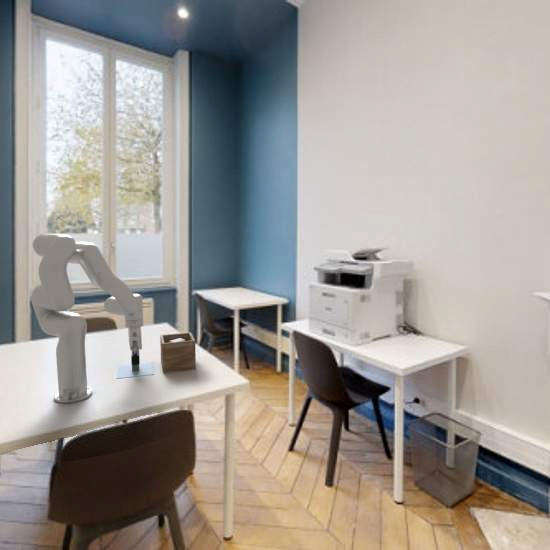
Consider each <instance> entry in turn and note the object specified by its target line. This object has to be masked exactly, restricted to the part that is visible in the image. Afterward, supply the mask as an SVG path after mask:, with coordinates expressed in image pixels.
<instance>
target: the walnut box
mask: <svg viewBox="0 0 550 550" xmlns="http://www.w3.org/2000/svg"><path fill="white" fill-rule="evenodd" d="M159 337H160V338H159V341H160V364H161V369H162V374H166V373H173V372H175V373H177V372H183V371H191V370H192V371H193V370H197V368H196V366H197V365H196V364H197V363H196V357H197V356H196V339H195V338H194V335H193V333H192V332H181V333H170V334H160V335H159ZM178 338H181V339H185V341H180V342H169V341H171V340H175V339H178Z"/></svg>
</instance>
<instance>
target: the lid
mask: <svg viewBox="0 0 550 550" xmlns="http://www.w3.org/2000/svg"><path fill="white" fill-rule="evenodd" d="M116 372H117V373H116V380H117V379H118V380H119V379H125V378H127V379H129V378H135V377H145V376H146V377H147V376H154V375H155V368H154V361H153V362H143V363H140V364H138V365H132V364H126V365H125V364H124V365H118V366H117V371H116Z"/></svg>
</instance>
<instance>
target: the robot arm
mask: <svg viewBox="0 0 550 550" xmlns="http://www.w3.org/2000/svg"><path fill="white" fill-rule="evenodd" d="M32 249H33V251H34V252H35V253H36V254H37V255H38V256H40V257H42V259H41V260H40V263H39V264H38V265H39V266H38V276H39V280H40V283H39V284H38V285H37V286H35V287H34V289H32V292H31V296H30V300H31V305H32V307H33V311H34V314H35V316H36V319H37V321H38V325H39V327H40V328H41V330H42V332H44V333H45V334H47V335H49V336H52V337H53V336H54V337H57V338H58V341H57V345H56V350H55V355H56V356H55V357H56V371H57V386H58V387H57V388H58V391H57V392H56V393H55V394H54V396H53V399H54V401H55V402H57V403H61V404H69V403H70V404H71V403H76V402H80V401H83V400H86V399H87V398H89V397H90V396H92V394H93V389H92V388H91V387H90V386H88V377H87V376H88V375H87V357H86V356H87V355H86V335H87V329H88V324H87V320H86V318H85V317H84V316H82V315H81V314H79V313H77V312H72V311H69V310H71V309H72V308H73V307H74V306H75V301H76V299H75V295H74V292H73V288H72V285H71V282H70V279H69V275H68V270H67V269H68V264H76V265H77V264H79V265H80V267H81V269H83V272H84V273H85V275H86V276H87V278H88V279H89V281H90V283H91V284H92V285H93V286H94V287H96V288H97V289H100V290H101V291H103V292H106V293H107V294H109V295H110V296H109V297H108V298H106V300H105V301H104V304H103V308H104V310H105V312H107V313H108V314H111V315H116V316H123V317H124V327H125V328H126V329H127V330H128V343H129V350H130V351H131V356H130V357H131V358H130V359H131V360H130V361H131V365H138V364H141V362H140V351H141V350H142V349H143V342H142V341H143V337H142V336H143V335H142V327H143V326H144V302H143V300H144V299H143V295H142V294H139V293H133V291H132V290H131V288H130V287H129V286H128V285H127V284H126V283H125V282H124V281H123V280H121V278H120V277H118V276H117V275H116V274H114V273H113V271H112V270H111V267H110V266H109V264H108V262H107V261H106V259H105V257H104V255H103V254H102V252H101V250H100V249H99V247H98V246H97V245H96V244H95V243H93V242H87V241H76V240H75V238H74V237H72V236H71V235H68V234H64V233H41V234H39V235H38V236H36V237H35V238H34V239H33V242H32Z"/></svg>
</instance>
